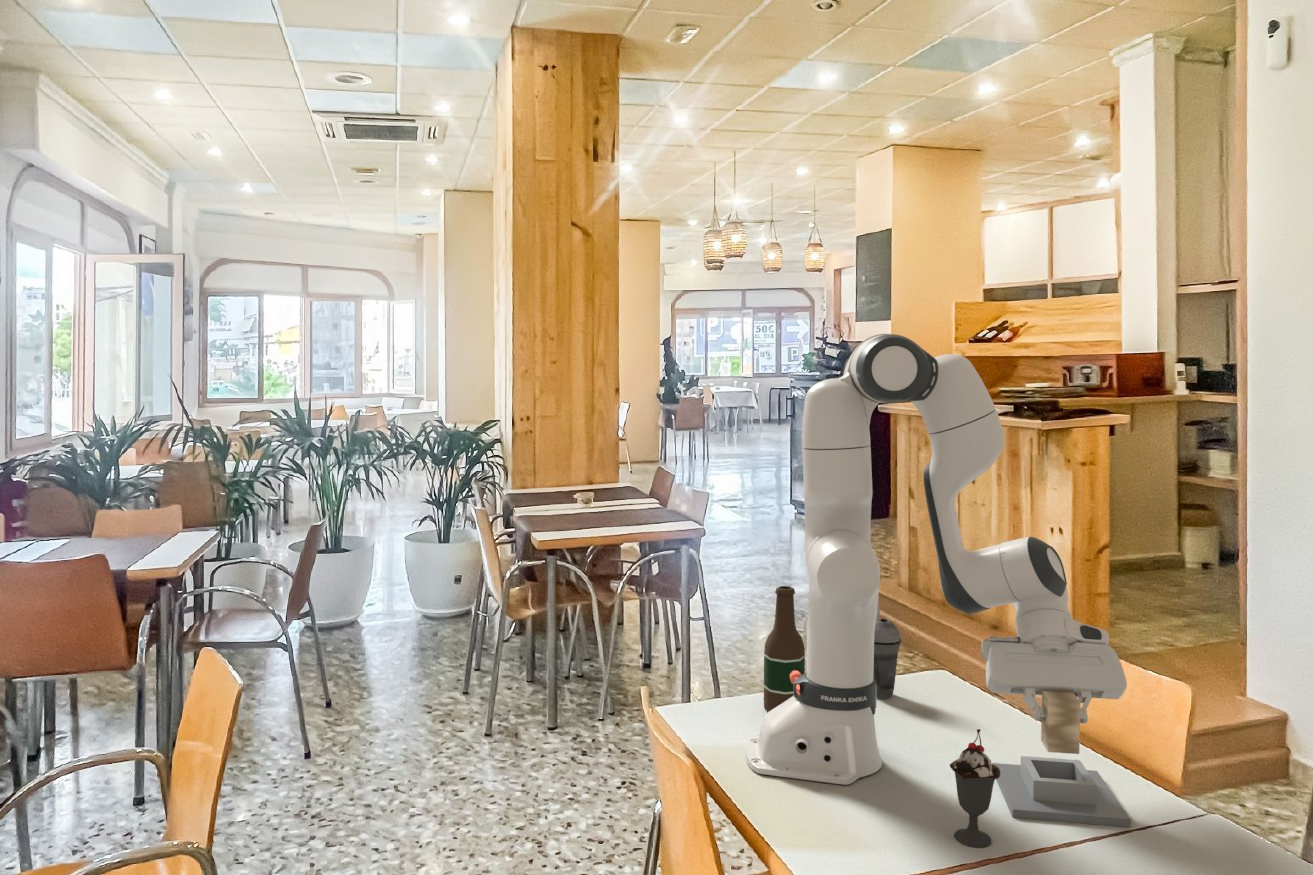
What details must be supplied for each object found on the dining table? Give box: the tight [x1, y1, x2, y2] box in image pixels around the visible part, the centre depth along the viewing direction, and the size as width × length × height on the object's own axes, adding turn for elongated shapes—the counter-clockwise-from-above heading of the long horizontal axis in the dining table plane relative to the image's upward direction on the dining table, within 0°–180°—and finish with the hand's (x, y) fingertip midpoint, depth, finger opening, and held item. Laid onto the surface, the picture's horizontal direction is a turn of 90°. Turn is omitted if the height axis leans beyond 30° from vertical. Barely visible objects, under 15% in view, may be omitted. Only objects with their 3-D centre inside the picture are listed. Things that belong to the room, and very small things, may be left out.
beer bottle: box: [763, 585, 806, 713], centre depth 172 cm, size 8×8×24 cm
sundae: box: [949, 728, 1000, 848], centre depth 125 cm, size 7×7×15 cm
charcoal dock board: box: [991, 755, 1132, 828], centre depth 138 cm, size 16×16×4 cm
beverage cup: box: [873, 598, 902, 700], centre depth 181 cm, size 7×7×20 cm
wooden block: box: [1040, 690, 1081, 755], centre depth 137 cm, size 4×4×8 cm
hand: (1061, 720), depth 136 cm, fingers closed on wooden block, 4 cm apart
